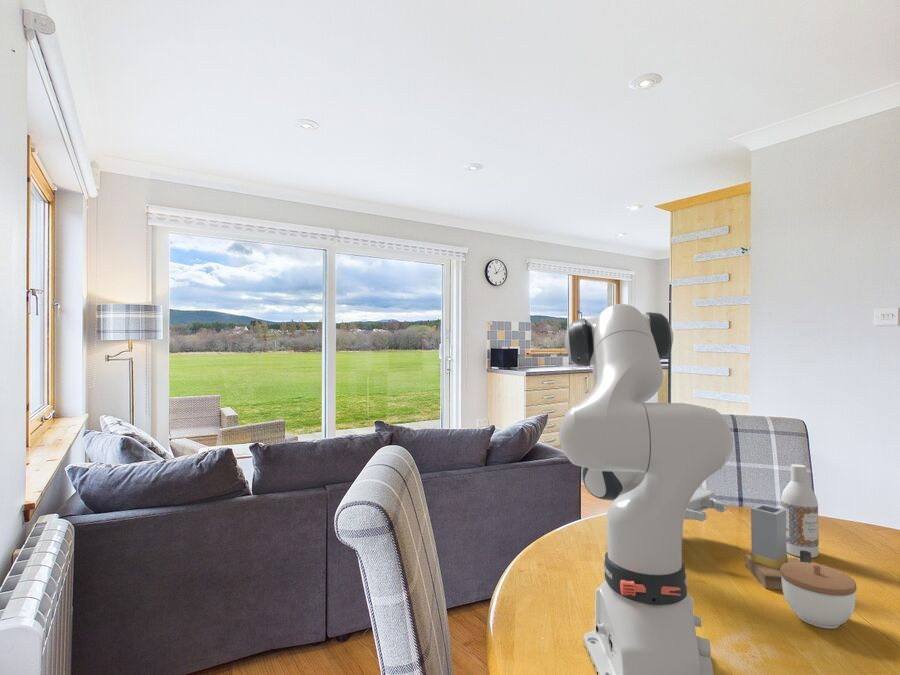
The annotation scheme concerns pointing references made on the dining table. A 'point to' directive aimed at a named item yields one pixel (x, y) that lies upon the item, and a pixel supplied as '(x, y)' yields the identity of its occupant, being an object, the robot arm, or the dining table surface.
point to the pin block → (772, 570)
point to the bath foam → (800, 514)
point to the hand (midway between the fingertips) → (715, 512)
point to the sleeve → (768, 536)
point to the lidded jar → (818, 593)
